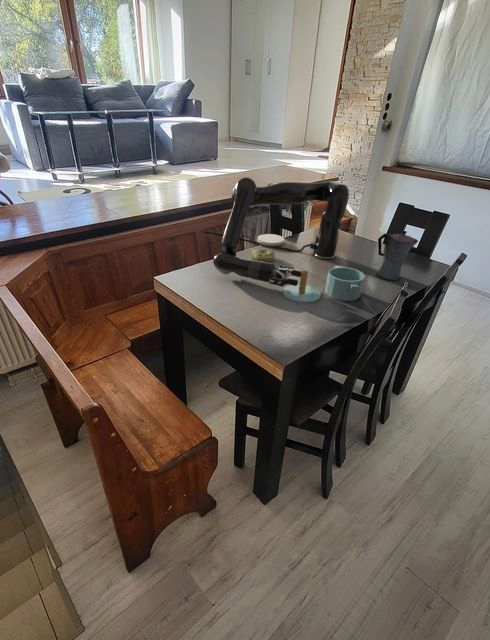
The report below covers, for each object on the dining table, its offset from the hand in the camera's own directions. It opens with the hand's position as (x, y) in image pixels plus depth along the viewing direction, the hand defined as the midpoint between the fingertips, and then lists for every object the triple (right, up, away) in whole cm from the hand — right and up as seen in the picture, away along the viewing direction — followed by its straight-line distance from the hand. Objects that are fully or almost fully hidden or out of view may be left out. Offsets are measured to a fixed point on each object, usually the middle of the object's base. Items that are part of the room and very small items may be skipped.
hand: (300, 278), depth 138 cm
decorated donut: (-11, +16, +33) cm, 38 cm away
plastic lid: (-5, +29, +52) cm, 59 cm away
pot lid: (+1, -5, +3) cm, 6 cm away
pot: (+17, -5, +5) cm, 19 cm away
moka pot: (+42, +5, +19) cm, 47 cm away
